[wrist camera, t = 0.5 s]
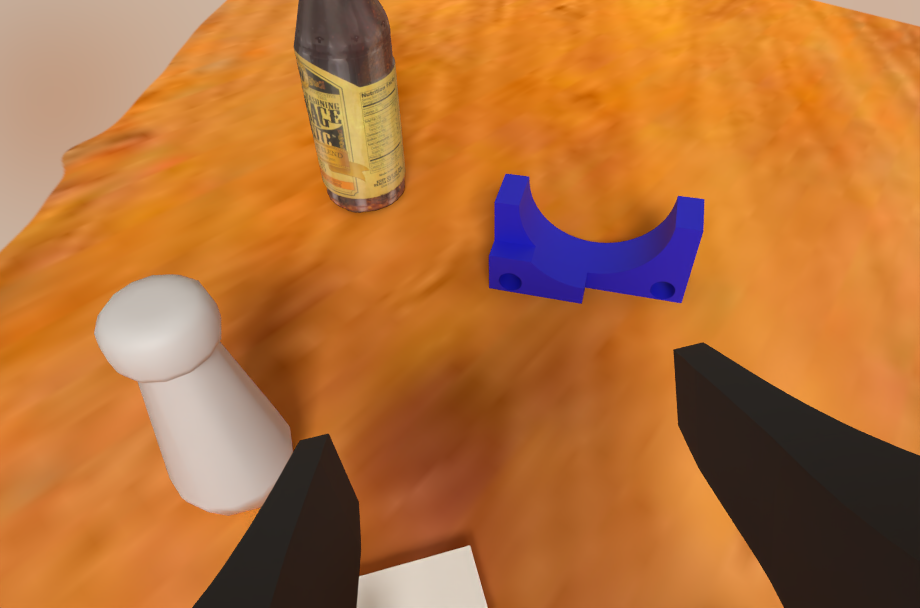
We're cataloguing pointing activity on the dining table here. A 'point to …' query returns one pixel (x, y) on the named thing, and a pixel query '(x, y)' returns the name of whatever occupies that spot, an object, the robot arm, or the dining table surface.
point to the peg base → (425, 584)
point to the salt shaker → (195, 394)
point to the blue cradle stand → (589, 252)
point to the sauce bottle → (352, 100)
